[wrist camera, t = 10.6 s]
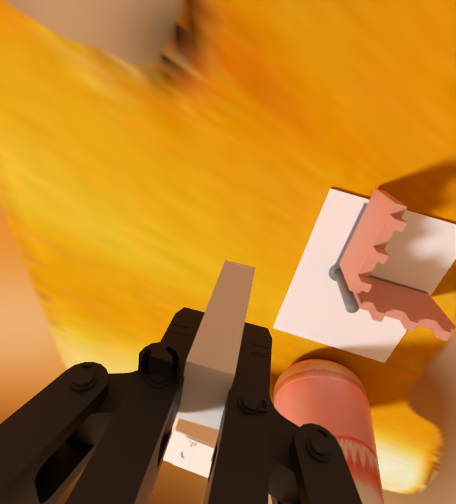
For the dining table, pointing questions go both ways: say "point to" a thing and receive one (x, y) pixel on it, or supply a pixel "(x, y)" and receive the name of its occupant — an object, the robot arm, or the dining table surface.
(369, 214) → the fixed fence panel
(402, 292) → the folding fence panel
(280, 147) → the dining table surface
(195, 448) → the ink box
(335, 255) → the card
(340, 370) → the vase
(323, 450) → the robot arm
